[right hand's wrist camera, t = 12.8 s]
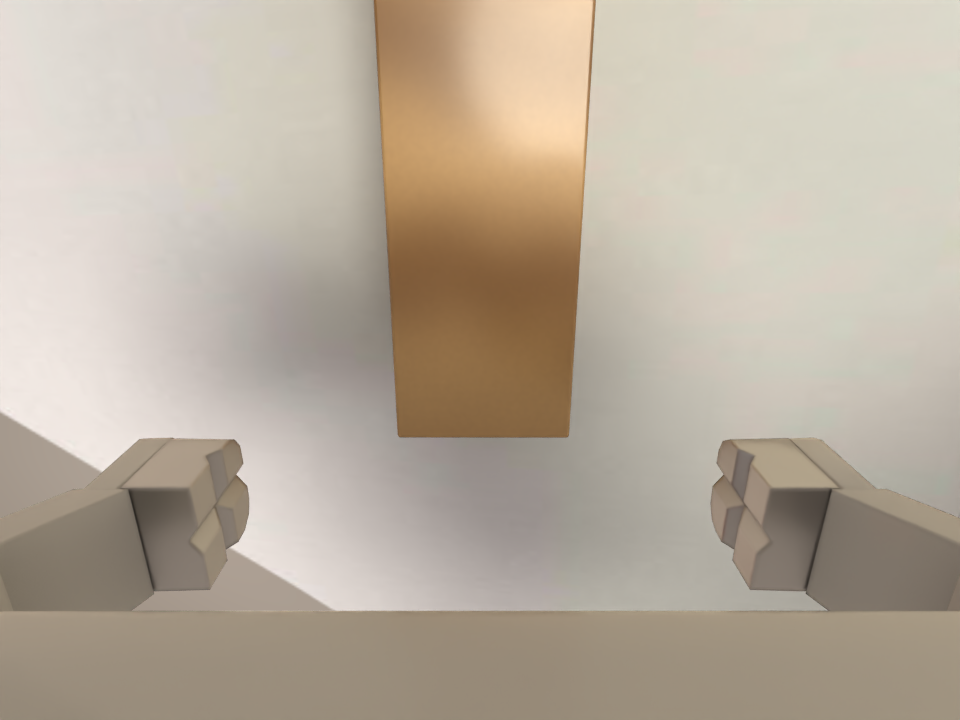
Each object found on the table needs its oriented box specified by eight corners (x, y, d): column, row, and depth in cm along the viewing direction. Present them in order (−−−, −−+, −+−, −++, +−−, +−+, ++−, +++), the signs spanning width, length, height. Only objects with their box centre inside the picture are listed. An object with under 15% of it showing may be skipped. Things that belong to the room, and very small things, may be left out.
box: (536, 326, 32) (569, 438, 20) (427, 327, 32) (397, 438, 20) (558, -249, 23) (634, -622, 12) (408, -249, 23) (338, -623, 12)
